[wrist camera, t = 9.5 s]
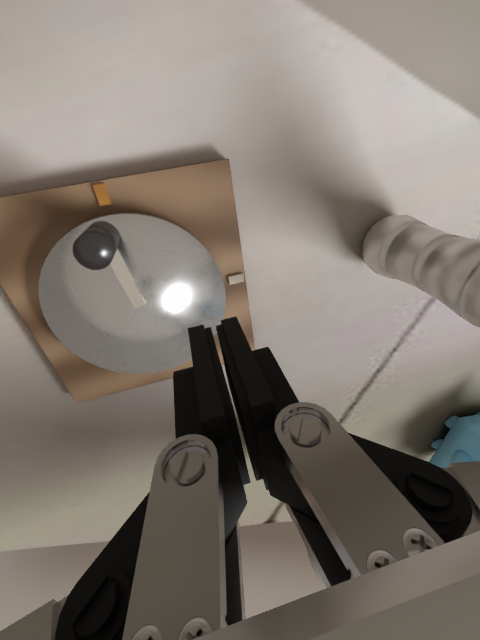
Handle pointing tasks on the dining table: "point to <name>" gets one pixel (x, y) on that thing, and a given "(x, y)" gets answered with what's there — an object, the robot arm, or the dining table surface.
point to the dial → (130, 292)
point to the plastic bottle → (427, 262)
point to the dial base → (112, 197)
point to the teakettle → (458, 442)
